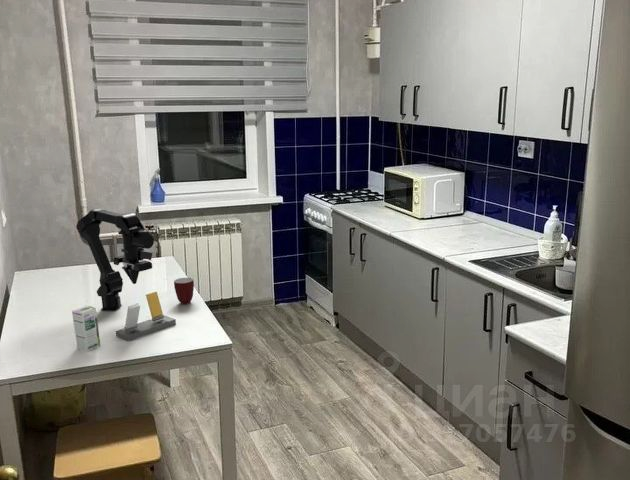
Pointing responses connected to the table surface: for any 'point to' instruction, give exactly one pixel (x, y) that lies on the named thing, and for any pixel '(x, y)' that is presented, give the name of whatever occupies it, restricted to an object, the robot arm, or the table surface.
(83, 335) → the syrup box
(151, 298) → the rocker amber
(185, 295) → the mug
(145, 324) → the grey switch base
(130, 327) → the rocker grey
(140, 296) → the table surface
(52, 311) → the table surface
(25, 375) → the table surface
